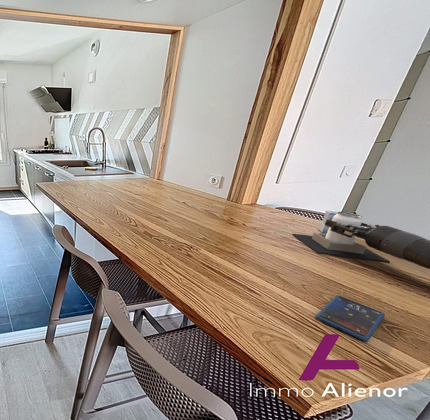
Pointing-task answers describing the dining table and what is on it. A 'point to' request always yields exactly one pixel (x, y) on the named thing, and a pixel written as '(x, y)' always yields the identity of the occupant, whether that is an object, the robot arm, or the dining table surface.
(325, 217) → the medicine box
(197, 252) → the dining table surface
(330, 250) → the pad
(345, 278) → the dining table surface
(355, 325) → the smartphone
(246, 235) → the dining table surface
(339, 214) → the can
